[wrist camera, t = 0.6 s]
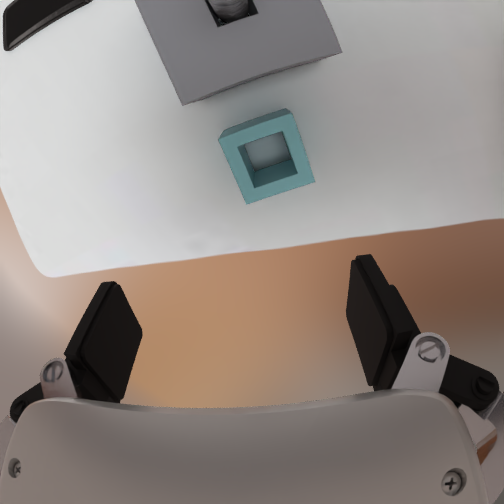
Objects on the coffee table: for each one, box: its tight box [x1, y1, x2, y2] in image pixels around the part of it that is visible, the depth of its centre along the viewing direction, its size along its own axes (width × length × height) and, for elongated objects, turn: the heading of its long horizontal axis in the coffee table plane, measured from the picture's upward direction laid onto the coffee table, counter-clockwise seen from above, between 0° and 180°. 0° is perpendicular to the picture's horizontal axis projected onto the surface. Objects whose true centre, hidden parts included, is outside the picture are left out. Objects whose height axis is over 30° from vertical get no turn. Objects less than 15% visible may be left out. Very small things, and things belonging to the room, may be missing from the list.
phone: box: [3, 0, 93, 51], centre depth 16 cm, size 8×1×15 cm
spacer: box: [218, 108, 315, 205], centre depth 26 cm, size 6×6×5 cm
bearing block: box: [135, 0, 342, 106], centre depth 17 cm, size 12×12×8 cm
